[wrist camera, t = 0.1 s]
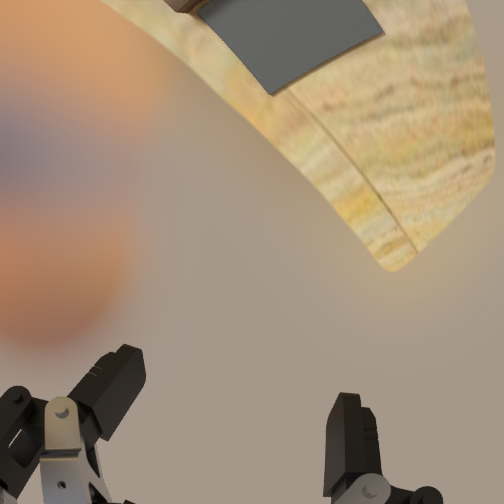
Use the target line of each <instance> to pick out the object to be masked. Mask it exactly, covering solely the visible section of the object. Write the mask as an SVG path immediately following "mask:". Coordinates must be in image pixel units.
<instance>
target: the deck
mask: <svg viewBox="0 0 504 504" xmlns="http://www.w3.org/2000/svg"><path fill="white" fill-rule="evenodd" d="M164 1H165V2H166V3H167V4H168V5H169V6H170V7H171V8H172V9H173V10H174V11H175V12H178V13H188V12H189V11H190V10H191V9H192V8H193V7H195V6H196V5H197V4H198V3H199V2H201V1H202V0H164Z"/></svg>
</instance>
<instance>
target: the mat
mask: <svg viewBox="0 0 504 504" xmlns="http://www.w3.org/2000/svg"><path fill="white" fill-rule="evenodd" d="M197 14H198V15H199V16H200V17H201V18H202V19H203V20H204V21H205V22H206V23H207V24H208V25H209V26H210V27H211V28H212V29H213V31H214V32H215V33H216V34H217V35H218V36H219V37H220V38H221V39H222V40H223V41H224V42H225V43H226V45H227V46H228V47H229V48H230V49H231V50H232V51H233V52H234V53H235V55H236V56H237V57H238V58H239V59H240V60H241V62H242V63H243V64H244V65H245V66H246V67H247V69H248V70H249V71H250V72H251V73H252V74H253V76H254V77H255V78H256V79H257V81H258V82H259V83H260V84H261V85H262V87H263V88H264V89H265V90H266V92H267V93H268V94H269V95H270V94H272V93H273V92H275V91H276V90H278V89H279V88H281V87H282V86H284V85H286V84H287V83H289V82H290V81H292V80H294V79H295V78H297V77H298V76H300V75H302V74H303V73H305V72H307V71H309V70H310V69H312V68H314V67H315V66H317V65H319V64H321V63H322V62H324V61H326V60H328V59H330V58H331V57H333V56H335V55H337V54H339V53H341V52H342V51H344V50H346V49H348V48H350V47H352V46H354V45H356V44H358V43H360V42H362V41H364V40H366V39H368V38H370V37H372V36H374V35H376V34H379V33H381V32H383V30H382V28H381V27H380V25H379V24H378V22H377V21H376V20H375V18H374V17H373V15H372V14H371V13H370V11H369V10H368V9H367V7H366V6H365V5H364V3H363V2H362V1H361V0H212V1H210V2H209V3H208V4H207V5H205V6H204V7H203V8H202V9H200V10H199V11H198V12H197Z"/></svg>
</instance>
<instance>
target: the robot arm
mask: <svg viewBox="0 0 504 504" xmlns="http://www.w3.org/2000/svg"><path fill="white" fill-rule="evenodd" d="M145 380H146V372H145V366H144V359H143V353H142V350H141V349H139V348H135V347H133V346H130V345H127V344H123V345H122V346H121V347H120V348H119V349H118V350H117V352H116V353H114V352H109V353H108V354H106V355H104V356H102V357H101V358H100V359H99V360H98V361H97V362H96V363H95V365H94V367H92V368H91V369H90V370H89V373H87V374H86V375H85V376H84V377H83V378H82V380H81V381H80V382H79V383H78V384H77V385H76V387H75V388H74V389H73V390H72V391H71V392H70V394H69V395H68V396H67V397H56V398H53V399H51V400H50V401H46V400H41V399H38V398H34V397H32V396H31V394H30V392H29V391H28V390H27V389H26V388H25V387H23V386H13V387H11V388H9V389H8V390H7V391H6V392H5V393H4V394H3V395H2V397H1V398H0V504H18V503H17V501H16V500H17V498H18V497H19V495H20V493H21V492H22V490H23V488H24V486H25V485H26V483H27V481H28V480H29V478H30V477H31V475H32V473H33V472H34V470H35V469H36V467H37V465H38V464H39V462H40V472H41V483H42V491H43V498H44V504H121V503H112V500H111V498H110V494H109V492H108V490H107V487H106V485H105V483H104V479H103V475H102V471H101V466H100V462H99V456H98V451H97V445H96V442H97V440H98V439H99V437H100V438H102V439H104V440H106V441H109V439H110V437H111V436H112V434H113V433H114V431H115V430H116V428H117V427H118V425H119V424H120V422H121V420H122V419H123V417H124V416H125V414H126V413H127V411H128V410H129V408H130V406H131V405H132V403H133V402H134V400H135V399H136V397H137V395H138V394H139V393H140V391H141V389H142V388H143V386H144V384H145ZM20 429H21V430H22V431H21V432H20V433H19V434H18V436H17V437H16V438H15V440H14V441H13V443H12V444H11V446H10V447H9V444H10V443H11V441H12V440H13V438H14V437H15V436H16V435H17V433H18V432H19V430H20ZM8 447H9V448H8ZM325 452H326V453H325V474H324V491H323V497H331V504H443V498H442V495H441V493H440V492H439V491H438V490H437V489H436V488H434V487H430V486H425V487H421V488H419V489H417V490H416V491H415V492H413V491H408V490H404V489H400V488H396V487H394V486H391V485H390V484H389V482H388V481H387V480H386V479H385V478H384V477H383V475H382V470H381V460H380V451H379V442H378V433H377V426H376V418H375V416H374V415H373V413H372V411H371V410H370V408H366V407H361V400H360V395H359V394H354V393H343V392H341V393H339V395H338V398H337V400H336V402H335V404H334V406H333V408H332V410H331V412H330V414H329V417H328V420H327V425H326V450H325ZM123 504H135V503H132V502H130V501H128V500H125V501H124V503H123Z"/></svg>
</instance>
